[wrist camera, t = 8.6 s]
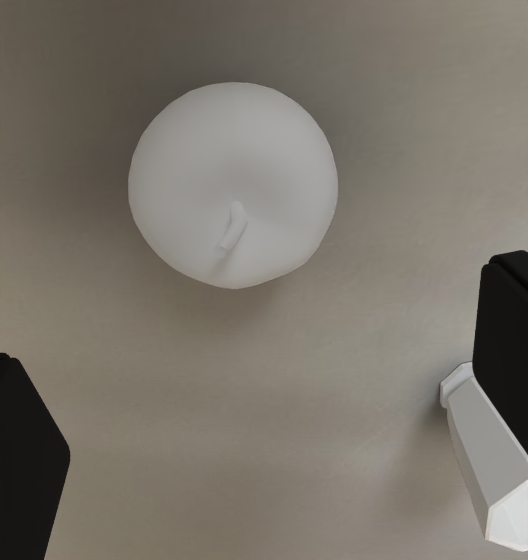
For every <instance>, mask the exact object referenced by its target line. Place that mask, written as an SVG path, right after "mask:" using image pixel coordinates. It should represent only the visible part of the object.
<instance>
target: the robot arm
mask: <svg viewBox="0 0 528 560" xmlns="http://www.w3.org/2000/svg"><path fill="white" fill-rule="evenodd" d="M472 368H473V373H474V376H475V379H476V381H477V382H478V384H479V385H480V387H481V388H482V390H483V391H484V392H485V394H486V395H487V397H488V398H489V400H490V401H491V403H492V404H493V406H494V407H495V408H496V410H497V411H498V413H499V414H500V416H501V417H502V419H503V420H504V421H505V423H506V424H507V426H508V427H509V429H510V430H511V432H512V433H513V434H514V436H515V437H516V439H517V440H518V442H519V443H520V445H521V446H522V447H523V449H524V450H525V452H526V453H527V455H528V252H526V251H524V250H519V251H514V252H509V253H504V254H499V255H494V256H493V257H491V259H490V261H489V264H486V265H484V266H483V268H482V271H481V280H480V290H479V300H478V310H477V320H476V330H475V340H474V350H473V360H472ZM69 464H70V450H69V446H68V444H67V442H66V440H65V439H64V437H63V435H62V433H61V432H60V430H59V428H58V427H57V425H56V423H55V421H54V420H53V418H52V416H51V414H50V413H49V411H48V409H47V407H46V406H45V404H44V402H43V401H42V399H41V397H40V395H39V394H38V392H37V390H36V388H35V387H34V385H33V383H32V381H31V380H30V378H29V376H28V375H27V373H26V371H25V369H24V368H23V366H22V364H21V363H20V361H19V360H18V359H17V358H10V356H9V355H7V354H6V353H0V560H44V557H45V553H46V550H47V546H48V542H49V538H50V535H51V531H52V527H53V524H54V520H55V516H56V512H57V509H58V505H59V501H60V498H61V494H62V490H63V487H64V483H65V479H66V475H67V472H68V468H69Z"/></svg>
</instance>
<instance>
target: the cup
mask: <svg viewBox="0 0 528 560" xmlns="http://www.w3.org/2000/svg"><path fill="white" fill-rule="evenodd" d="M440 403H441V405H442V407H444V408H446V409H447V421H448V425H449V430H450V434H451V439H452V443H453V448H454V452H455V455H456V458H457V460H458V463H459V466H460V469H461V472H462V475H463V477H464V480H465V483H466V486H467V489H468V492H469V495H470V498H471V501H472V504H473V507H474V510H475V513H476V516H477V519H478V522H479V525H480V527H481V530H482V533H483V536H484V539H485V540H487V541H490V542H493V543H496V544H499V545H501V546H504V547H507V548H510V549H513V550H516V551H519V552H522V551H527V550H528V455H527V453H526V452H525V450H524V449H523V447H522V446H521V445H520V443H519V442H518V440H517V439H516V437H515V436H514V434H513V433H512V432H511V430H510V429H509V427H508V426H507V424H506V423H505V421H504V420H503V419H502V417H501V416H500V414H499V413H498V411H497V410H496V408H495V407H494V406H493V404H492V403H491V401H490V400H489V398H488V397H487V395H486V394H485V392H484V391H483V390H482V388H481V387H480V385H479V384H478V382H477V381H476V379H475V376H474V373H473V368H472V362H469V363H464V364H461V365H460V366H458V367H457V368H456V369H455V370H454V371H453V372H452V373H451V374H450V375H449V376H448V377H446V378H445V379H444V380H443V381H442V382H441V383H440Z"/></svg>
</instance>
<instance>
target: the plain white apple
mask: <svg viewBox="0 0 528 560" xmlns="http://www.w3.org/2000/svg"><path fill="white" fill-rule="evenodd" d="M128 198H129V205H130V208H131V212H132V215H133V218H134V221H135V223H136V225H137V227H138V228H139V230H140V232H141V233H142V235H143V237H144V239H145V240H146V242H147V243H148V244H149V245H150V246H151V248H152V249H153V250H154V251H155V252H156V254H157V255H158V256H159V257H160V258H162V259H163V260H164V261H165V262H166V263H167V264H169V265H170V266H171V267H172V268H174V269H175V270H177V271H179V272H181V273H183V274H185V275H186V276H188V277H190V278H193V279H196V280H198V281H201V282H204V283H207V284H210V285H213V286H216V287H220V288H228V289H240V288H245V287H251V286H255V285H258V284H261V283H264V282H267V281H270V280H272V279H275V278H277V277H280V276H282V275H285V274H287V273H290V272H292V271H293V270H295V269H297V268H298V267H300V266H301V265H303V264H305V263H306V262H307V261H308V260H309V259H310V257H311V256H312V255H313V254H314V253H315V251H316V250H317V249H318V247H319V246H320V244H321V242H322V240H323V238H324V236H325V234H326V232H327V230H328V228H329V226H330V223H331V221H332V219H333V216H334V213H335V208H336V204H337V199H338V176H337V171H336V166H335V162H334V158H333V154H332V150H331V148H330V146H329V143H328V141H327V139H326V137H325V134H324V133H323V131H322V130H321V129H320V127H319V126H318V125H317V123H316V122H315V121H314V119H313V118H312V116H311V115H310V114H309V113H308V112H307V111H306V110H304V109H303V108H302V107H301V106H300V105H299V104H298V103H296V102H295V101H294V100H293V99H291V98H289V97H287V96H286V95H284V94H282V93H280V92H278V91H277V90H275V89H272V88H268V87H265V86H261V85H257V84H253V83H239V82H228V83H219V84H210V85H207V86H204V87H200V88H197V89H194V90H191V91H189V92H187V93H186V94H184V95H182V96H181V97H179V98H178V99H176V100H174V101H173V102H171V103H170V104H169V105H168V106H167V107H166V108H165V109H163V110H162V111H161V112H160V113H159V114H158V115H157V116H156V117H155V118H154V119H153V120H152V122H151V123H150V125H149V126H148V127H147V129H146V130H145V131H144V133H143V134H142V136H141V138H140V140H139V143H138V145H137V147H136V149H135V152H134V154H133V157H132V162H131V167H130V172H129V176H128Z"/></svg>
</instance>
